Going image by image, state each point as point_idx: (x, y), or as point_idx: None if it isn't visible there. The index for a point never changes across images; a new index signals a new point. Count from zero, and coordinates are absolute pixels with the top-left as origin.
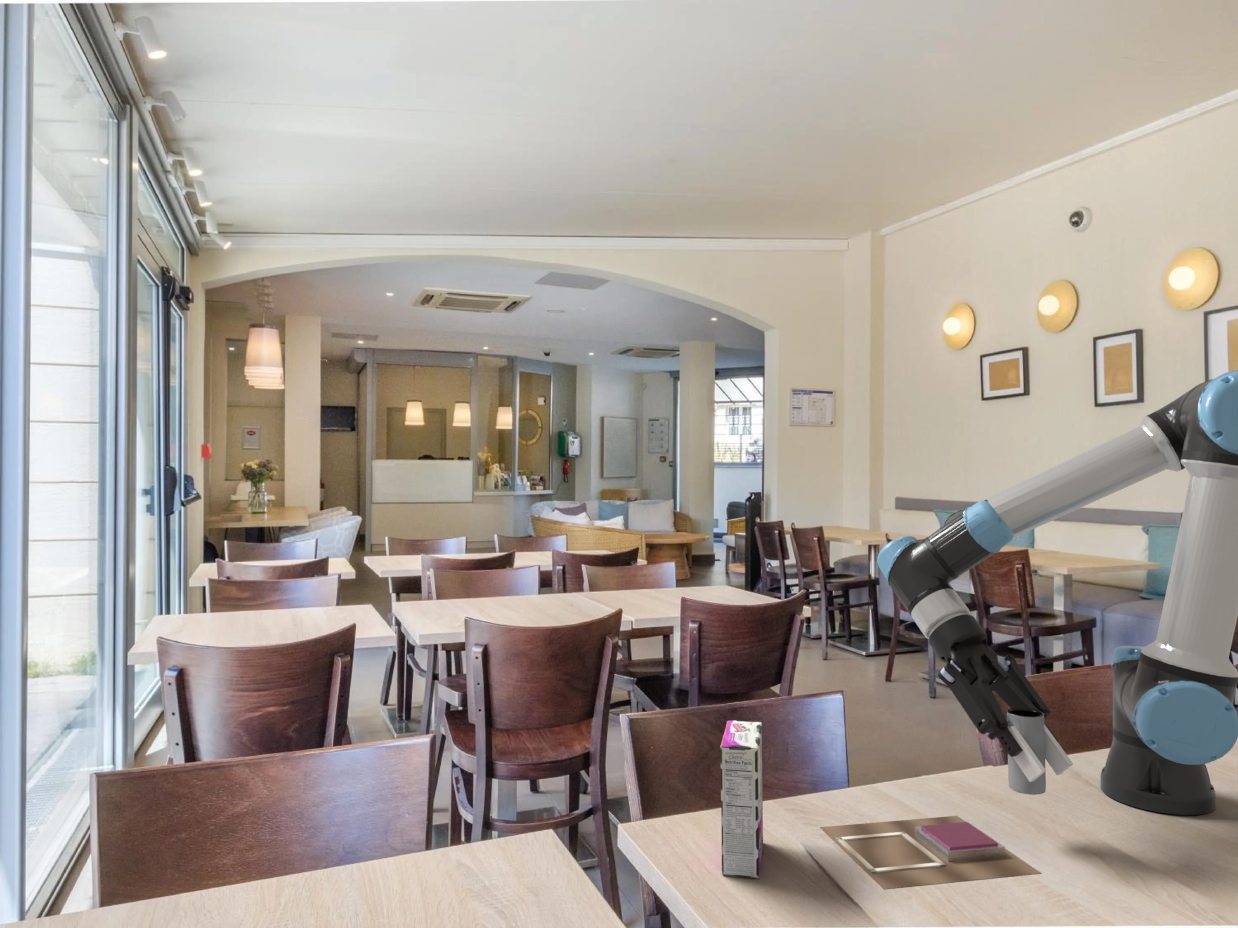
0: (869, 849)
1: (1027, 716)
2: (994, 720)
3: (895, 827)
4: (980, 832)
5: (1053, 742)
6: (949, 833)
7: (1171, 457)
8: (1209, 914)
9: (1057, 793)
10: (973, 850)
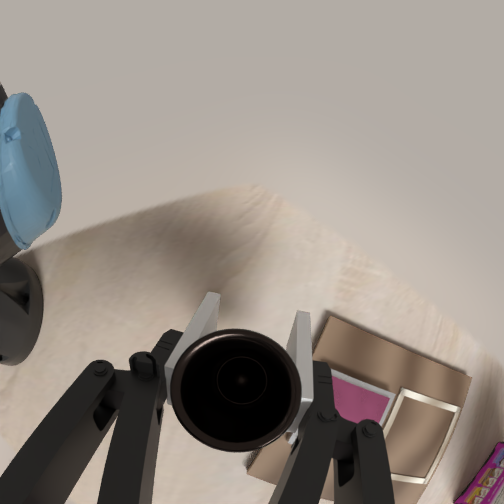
0: (424, 452)
1: (288, 358)
2: (357, 430)
3: None
4: None
5: (204, 326)
6: None
7: None
8: (258, 191)
9: (53, 403)
10: (366, 383)
